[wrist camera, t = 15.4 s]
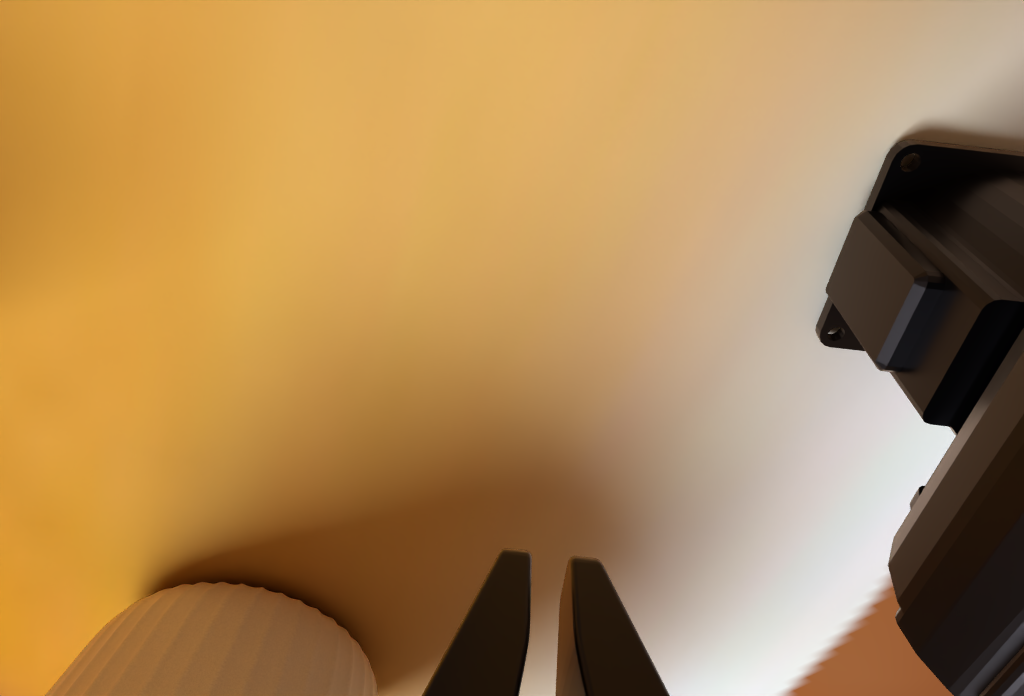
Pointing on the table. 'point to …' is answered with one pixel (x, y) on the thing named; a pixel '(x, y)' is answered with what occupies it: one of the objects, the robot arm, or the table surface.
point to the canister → (219, 648)
